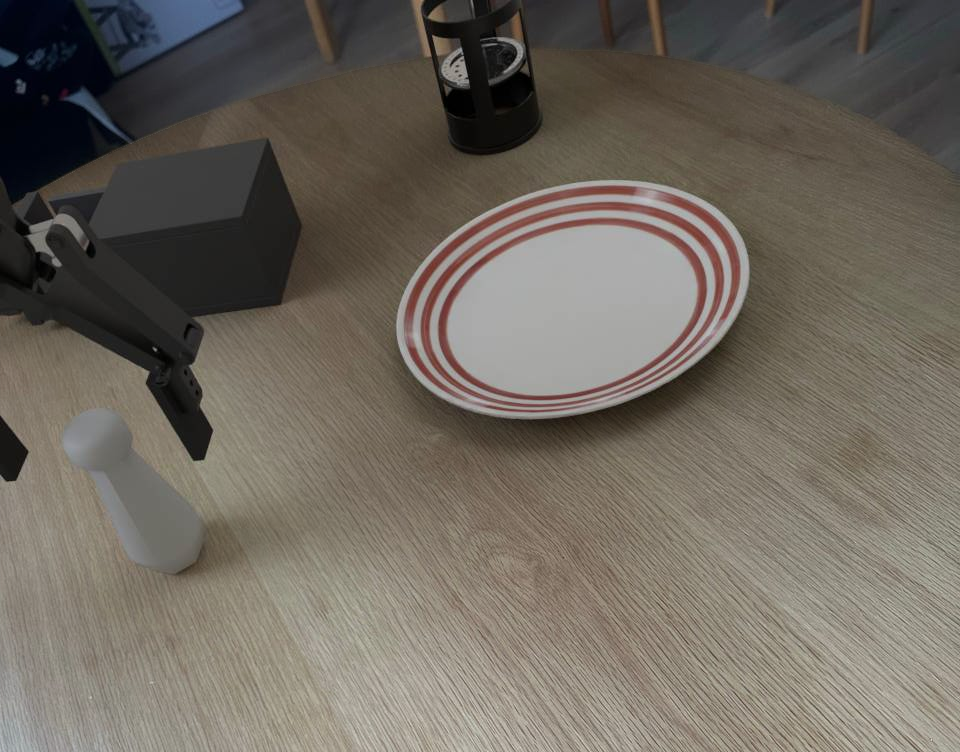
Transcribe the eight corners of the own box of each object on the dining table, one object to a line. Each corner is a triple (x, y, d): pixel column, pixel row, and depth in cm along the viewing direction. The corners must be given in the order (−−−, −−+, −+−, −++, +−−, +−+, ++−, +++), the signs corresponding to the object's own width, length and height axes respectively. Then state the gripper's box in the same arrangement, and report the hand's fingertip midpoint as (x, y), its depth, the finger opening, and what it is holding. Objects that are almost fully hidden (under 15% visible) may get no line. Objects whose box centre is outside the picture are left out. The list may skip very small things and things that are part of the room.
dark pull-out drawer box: (-27, 334, 97) (-73, 272, 91) (10, 265, 102) (-32, 202, 97) (165, 307, 92) (128, 240, 87) (191, 236, 98) (158, 170, 93)
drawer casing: (129, 325, 94) (79, 241, 87) (160, 247, 100) (116, 163, 93) (280, 304, 91) (241, 216, 84) (302, 225, 97) (267, 136, 90)
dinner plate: (543, 503, 71) (535, 469, 68) (344, 335, 86) (331, 303, 83) (828, 300, 76) (831, 261, 74) (593, 176, 92) (588, 141, 89)
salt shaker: (188, 590, 73) (96, 464, 63) (125, 577, 75) (26, 452, 65) (227, 529, 76) (145, 397, 65) (165, 517, 78) (76, 388, 67)
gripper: (-352, 233, 51) (-76, 516, 68) (98, 150, 45) (275, 479, 62) (-278, 150, 55) (-36, 436, 72) (141, 65, 50) (296, 395, 67)
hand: (109, 456), depth 67 cm, fingers open, 13 cm apart
